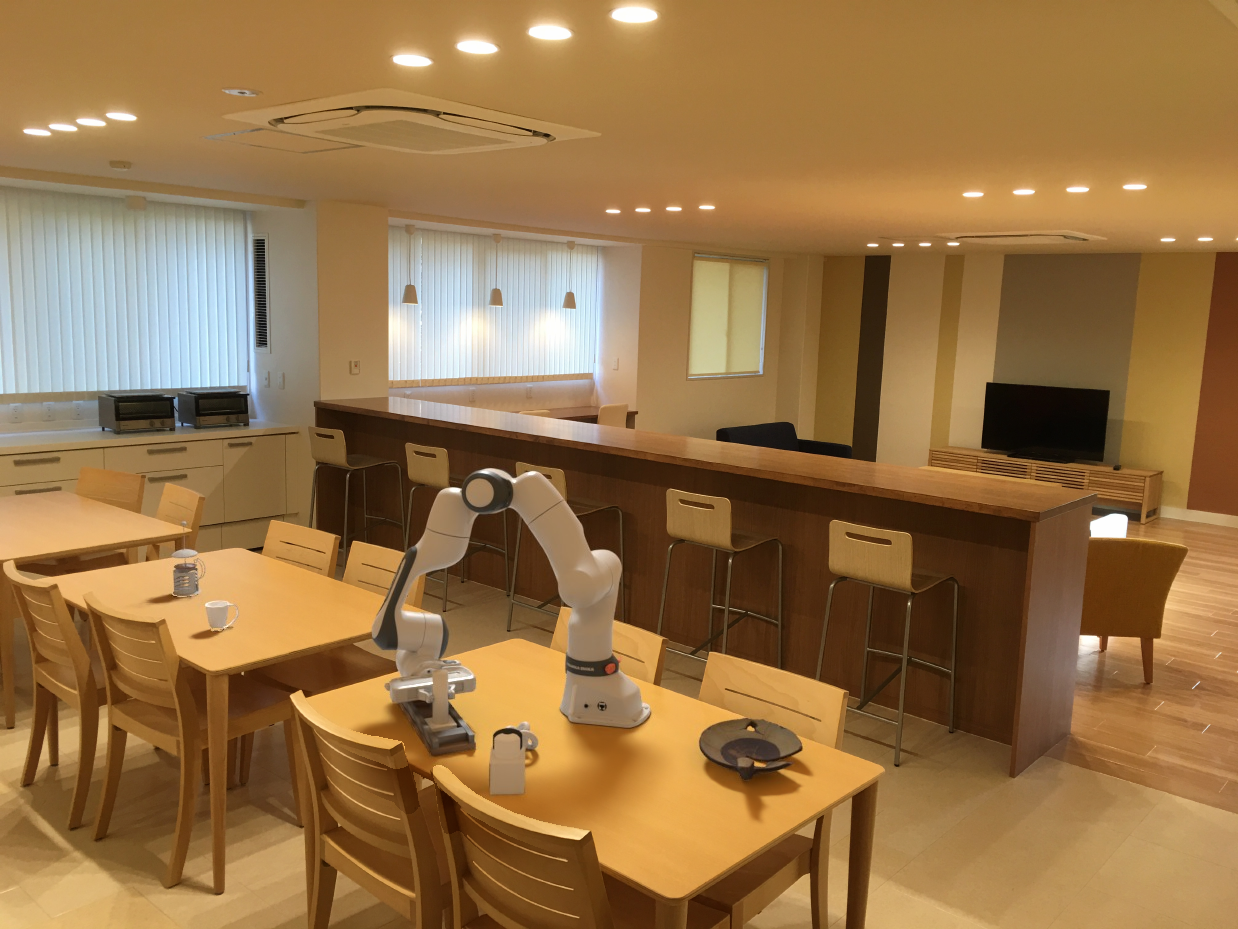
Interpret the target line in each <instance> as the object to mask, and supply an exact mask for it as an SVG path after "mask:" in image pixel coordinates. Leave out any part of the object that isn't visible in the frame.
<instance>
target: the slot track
mask: <svg viewBox="0 0 1238 929" xmlns="http://www.w3.org/2000/svg"><path fill="white" fill-rule="evenodd" d="M397 705H398V707H399V708H400V709H401V711H402V712H403V715H404V716H405V717H406V719H407V720H408V722H409V723H410V725H411V726H412V728H413V729H414V731H415V732H416V734H417V736H418V737H419V739H420V740H421V742H422V743H423V745H424V746H425V748H426V749H427V751H428V753H429V754H430V756H431V757H432V756H434V757H438V756H444V755H445V756H446V755H449V754H450V755H451V754H455V753H461V752H466V751H472V750H476V749H477V742H476V741H475V740H476V736H475V733H474V732H473V730H472V729H471V728H470V727H469V726H468V724H467V723H466V721H465V720H464V719H463V717H462V716H461V714H459V712H458V711H457V709H456V708H455V707H454V706H453V705H452V703H451V702H450V701H449V700H448V715H450V716H451V717H452V719H453V720H454V721H455V723H456V724H457V728H454V729H448V730H442V731H436V732H432V730H431V729H430V727H429V726H428V724H427V723H426V721H425V720H424V719H426V718H432V717H433V702H431V703H427V702H426V701H423V700H415V701H408V702H402V703H397Z"/></svg>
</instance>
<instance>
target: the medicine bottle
mask: <svg viewBox="0 0 1238 929" xmlns="http://www.w3.org/2000/svg"><path fill="white" fill-rule="evenodd" d="M522 736H523V735H522V733H521V732H520V731H519V730H517V729H513V728H506V727H505V728H499V729H497V730H496V731H494V733H493V734H492V747H491V748H490V755H489V762H488V763H489V766H488V768H489V770H488V778H489V780H488V781H489V782H488V783H489V785H488V786H489V788H488V793H489V795H490V796H495V795H497V796H500V795H503V796H504V795H506V796H507V795H524V794H525V793H526V792H525V788H526V787H525V783H526V780H525V779H526V750H525V747H522Z"/></svg>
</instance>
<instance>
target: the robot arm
mask: <svg viewBox="0 0 1238 929" xmlns="http://www.w3.org/2000/svg"><path fill="white" fill-rule="evenodd" d="M461 486H462V487H461V488H459V487H453V486H452V487H446V488H443V489H442V490H440V491H439V492H438V493H437V495H436V497H435V499H434V502H433V504H432V507H431V510H430V512H429V515H428V519H427V522H426V526H425V529H424V533H423V535H422V536H421V538H420V539H419V540H418V541H417V543H416V544H415V545H413V546H411V547H408V549H407V550H406V551H405V553H404V555H403V556H402V559H401V560H400V563H399V565H398V568H397V570H396V572H395V574H394V577H393V579H392V581H391V584H390V586H389V589H388V590H387V593H386V596H385V598H384V600H383V603H382V605H381V607H380V608H379V610H378V612H377V613H376V616H375V618H374V620H373V623H372V625H371V635H370V636H371V639H372V641H373V642H374V643H375V645H376V646H377V647H378V648H379V649H380V650H381V651H397V652H396V655H395V664H396V665H395V666H396V668H397V671H398V673H399V674H400V677H394V678H392V679H390V680H389V681H388V682H387V683H386V682H385V683H384V686H383V687H384V689H385V690H386V691H389V697H390V700H391V702H392V703H395V704H398V703H402V702H408V701H415V700H423V701H426V702H427V703H431V702H434V695H433V683H432V672H433V671H434V670H438V669H444V670H447V671H448V701H449V700H455V699H456V695H458V694H460V695H461V694H465V693H472V692H475V691H476V689H477V677H476V675H475V674H474V672H472V671H471V670H470V669H469V668H468V667H466V666H464V665H462V662H461V661H460V660H456V659H455V660H454V659H441V658H442V657H443V656H444V655H445V653H446V651H447V647H448V644H449V637H450V630H449V627H448V624H447V623H446V620H445V619H444V617H443V616H442V615H441V614H437V613H432V612H431V613H429V612H417V611H410V610H403V607H404V604H405V602H406V599H407V597H408V594H409V592H410V589H411V587H412V585H413V583H414V582H415V580H416V579H418V577H420V576H422V575H424V574H427V573H429V572H433V571H434V572H435V571H437V570H441V569H446V568H449V567H451V566H453V565H456V563H458V562H460V560H462V559H463V557H465V554H466V552H467V549H468V546H469V542H470V538H471V533H472V528H473V525H474V522H475V519H476V518H477V517H478V515H488V514H490V515H491V514H497V513H500V512H503V511H504V510H507V509H508V508H510V509H511V510H512V509H513V510H514V511H516V513H518V515H519V516H520V517H521V518H522V520H523V522H524V523H525V524H526V525H527V527H528V529H529V530H530V531H531V533H532V534H533V536H534V537H535V539H536V540H537V542H538V543H539V545H540V546H541V548H542V549H543V551H544V553H545V554H546V556H547V559H548V560H549V563H550V566H551V569H552V570H553V573H554V575H555V578H556V581H557V589H558V590H557V591H558V594H559V597H560V599H561V600H562V602H564V603H565V605H567V606H569V607H571V612H570V615H569V616H570V617H569V619H568V622H567V651H566V652H565V661H564V667H565V668H564V670H565V682H564V683H565V684H564V690H563V694H562V699H561V702H560V704H559V710H560V711H561V713H562V714H563V715H565V716H566V717H567V718H568V720H569V721H570V722H571V723H578V724H587V725H598V726H605V727H606V726H607V727H616V728H625V729H626V728H627V729H630V728H634V727H637V726H638V725H641V724H642V723H644V722H645V721H646V720H647V719H648V718H649V717H650V715H651V706H650V704H648V703H646V702H643V701H642V700H643V699H642V692H641V690H640V687H639V685H638V684H637V683H635V682H634V681H633V680H631V678H630V677H628V676H627V675H626V673H623V672H622V670H620V668H619V666H620V663H621V662H622V657H621V656H620V657H618V658H617V657H616V656H615V655H614V653H613V635H614V634H613V633H614V632H613V630H614V618H615V612H616V607H617V601H618V594H619V588H620V581H621V576H622V572H623V565H622V563H621V559H620V557H618V555H617V554H616V553H614V552H613V551H611V550H608V549H595V550H591V549H590V547H589V543H588V542H587V539H586V537H585V533H584V527H583V524H582V522H580V520H579V519H578V518H577V516H576V514H575V513H574V512H573V509H572V508H571V507H570V506H569V504H568V503H567V501H566V500H565V499H564V497H563V496H562V495H561V493H560V491H559V490H558V489H557V488H556V487H555V485H553V484H552V482H550V480H548V478H547V477H546V476H544V475H543V473H541V472H538V471H536V470H531V471H527V472H524V473H522V474H520V475H519V476H517V477H514V475H513V474H511V472H508V471H506V470H505V469H501V468H489V467H488V468H484V469H480V470H475V471H473V472H471V474H469V475H468V476H467V477H466V478H465V479H464V481H463V483H462V485H461Z"/></svg>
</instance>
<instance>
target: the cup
mask: <svg viewBox="0 0 1238 929" xmlns="http://www.w3.org/2000/svg"><path fill="white" fill-rule="evenodd" d="M204 605H205V606H204V607H205V610H206V616H207V620H208V623H209V624H208V625H209V627H210V629H211V628H212V629H213V628H223V629H225V630H226V628H225V627H228V628H229V627H230V626H232V625H233V624H234V623H235V622H236V620H238V618H239V616H240V615H239V614H240V611H239V609H238V606H237V605H236V604H234V603H230V602H229V601H227V600H212V601H209V602H206V603H205V604H204ZM232 606H234V608H235V611H236V615H235V617H234V619H232V621H231V622H230V623H228V624H227V620H228V614H229V607H232ZM223 629H220V630H223ZM214 631H218V630H214ZM223 631H224V630H223Z"/></svg>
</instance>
